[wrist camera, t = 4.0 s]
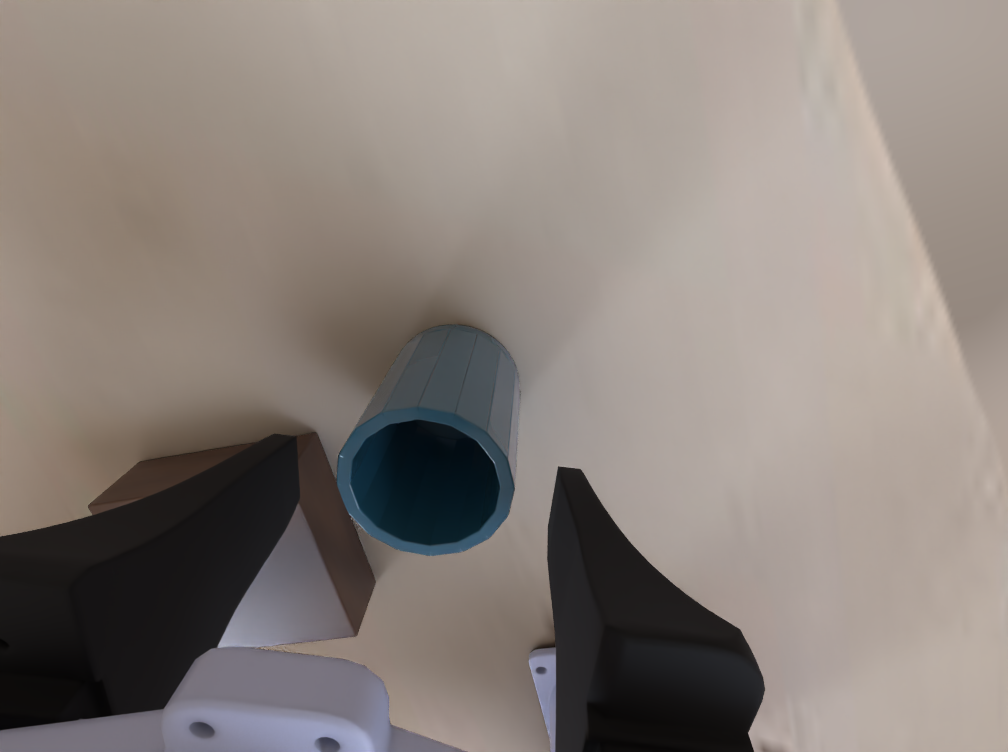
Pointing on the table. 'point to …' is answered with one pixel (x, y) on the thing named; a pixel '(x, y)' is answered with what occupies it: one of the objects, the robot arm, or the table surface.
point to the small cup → (436, 445)
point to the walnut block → (281, 552)
